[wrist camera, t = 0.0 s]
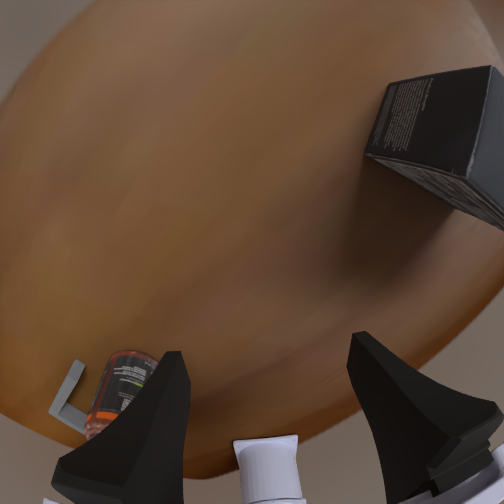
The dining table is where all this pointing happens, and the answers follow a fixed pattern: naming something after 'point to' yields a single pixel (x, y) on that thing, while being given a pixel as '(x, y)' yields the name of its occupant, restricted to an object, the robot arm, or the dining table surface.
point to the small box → (447, 137)
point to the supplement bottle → (118, 388)
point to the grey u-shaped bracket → (63, 408)
